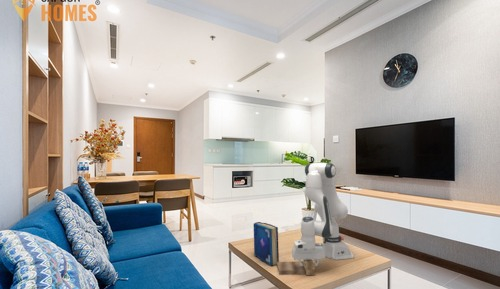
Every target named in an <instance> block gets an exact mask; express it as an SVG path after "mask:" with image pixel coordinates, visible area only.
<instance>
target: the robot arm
mask: <svg viewBox="0 0 500 289" xmlns="http://www.w3.org/2000/svg"><path fill="white" fill-rule="evenodd" d="M336 172H337V170H336V165H334V164H333V163H330V162H315V163H313V162H310V163H307V164H306V165H305V167H304V174H305V175H306V177H305V178H306V179H305V191H304V192H305V196H306V198H307V199H309V201H310V202H313V203H314V207H313V208H314V210H315V212H316V213H317V215H318V216H319V218H320V220H316V219H314V217H312V216H305V217H302V219H301V222H300V224H301V225H300V232H301V236H300V237H301V238H300V239H298V240H294V242H293V245H294V246H293V248H292V251H291V252H292V253H291V254H292V255H291V256H292V258H293V260H297V261H299V262H300V261H302V260H303V259H312V260H316V261H313V262H314V263H315V267H318V265H319V262H320V260H325V259H326V258H329V259H332V260H334V261H338V260H346V259H347V260H348V259H354V257H355V255H354V254H353V252H352V251H351V249H350V247H349V245H347V244H346V243H345V242H344V239H345V238H344V237H343V236H342V235H340V231H339V229H340V228H339V223H337V222H336V221H335V220H334V218H335V219H345V218H346V217H347V216H348V214H349V211H348V207H347V206H346V204H344V203H343V202H342V201H341V199H340V198H339V195H338V193H337V189H336V181H335V178H334V177H335V175H336ZM316 237H322V243H321V242H320V243H318V242H317V243H316ZM300 266H303V263H302V262H300Z"/></svg>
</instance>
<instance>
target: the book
mask: <svg viewBox="0 0 500 289" xmlns="http://www.w3.org/2000/svg"><path fill="white" fill-rule="evenodd" d="M253 249H254V250H253V254H254V256H255V257H256V258H258V259H259V260H261V261H262V262H264V263H265V264H268V265H269V266H271V267H272V266H277V262H280V256H279V255H280V254H279V253H280V252H279V228H278V226H276V225H273V224H270V223H267V222H262V221H261V222H260V221H257V222H254V223H253Z"/></svg>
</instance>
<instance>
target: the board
mask: <svg viewBox="0 0 500 289" xmlns="http://www.w3.org/2000/svg"><path fill="white" fill-rule="evenodd" d="M300 262H302V263H303V266H300ZM300 262H299V261H298V260H297V261H279V262H277V264H276V267H277V271H278V274H279V275H280V276H283V275H284V276H285V275H287V276H289V275H292V276H293V275H306V270H305V268H304V261H303V260H301V261H300Z"/></svg>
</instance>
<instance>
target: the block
mask: <svg viewBox="0 0 500 289" xmlns="http://www.w3.org/2000/svg"><path fill="white" fill-rule="evenodd" d="M302 261H304V268H305V270H306V274H305V275H306V276H316V273H315V270H316V268H315V267H316V266H315V263H314V262H315V261H314V259H302Z"/></svg>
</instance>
